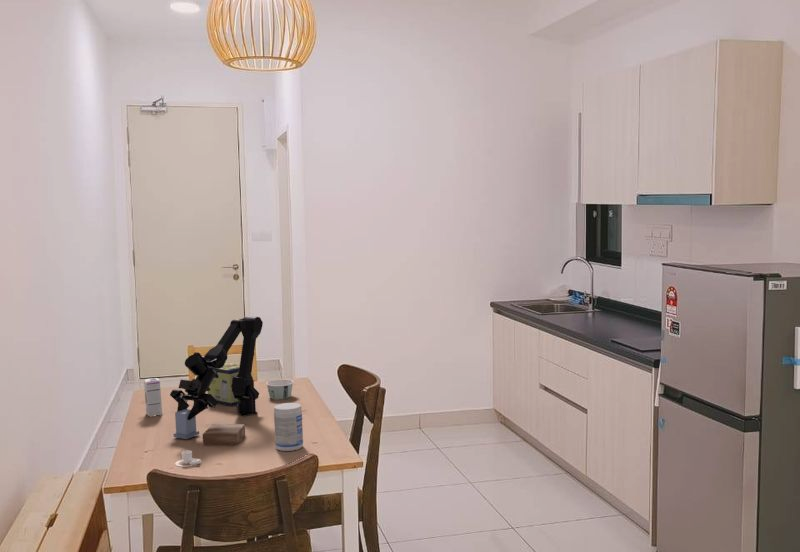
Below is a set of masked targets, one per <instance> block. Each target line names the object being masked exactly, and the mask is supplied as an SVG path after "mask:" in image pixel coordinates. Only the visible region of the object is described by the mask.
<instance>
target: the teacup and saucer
mask: <svg viewBox="0 0 800 552" xmlns="http://www.w3.org/2000/svg"><path fill="white" fill-rule="evenodd" d="M180 454H181V457H182V459H179V460H177V461H176V462H175V463H174V464H175V466H176V467H180V468H181V467H182V468H184V467H185V468H189V467H194V466H196V465H199V464H201V462H202V459H200V458H194V457H193V450H189V449H187V450H183V451H182V452H181V453H180ZM181 462H183V464H184V465H181V464H180V463H181Z"/></svg>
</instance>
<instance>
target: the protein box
mask: <svg viewBox="0 0 800 552" xmlns="http://www.w3.org/2000/svg"><path fill="white" fill-rule="evenodd" d="M239 367H240V364H237V363H236V364H235V363H231V362H230V363H229V362H227V361H226V362H225V364H224V366H223V367H222V368H219V369H218V368H212V369H213V370H214V371H217V373H218V376H219V378H213V380H212V382H211V384H210V386H209V388H210V391H206V393H207V394H211V395H212V396H213V397H214V398H215V399H216V400H217V405H222V406H227V407H233V406H237V403H238V399H237V398H236V399H235V398H234V395H233V392H232V387H231V385H232V379H233V377H236V376H237V375H238V373H239Z"/></svg>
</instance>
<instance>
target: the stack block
mask: <svg viewBox="0 0 800 552" xmlns="http://www.w3.org/2000/svg"><path fill="white" fill-rule="evenodd" d="M245 436H246V424H245V423H229V424H227V423H226V424H225V423H223V424H222V423H221V424H217V423H216V424H213V423H212V424H211V425H210V426H209V427H208V428H207V429H206V430H205V431H204V432H203V433H202V446H238V444H239V443H240V442H241V441H242V440H243V438H244V437H245Z"/></svg>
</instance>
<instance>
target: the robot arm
mask: <svg viewBox="0 0 800 552" xmlns="http://www.w3.org/2000/svg"><path fill="white" fill-rule="evenodd" d="M263 323H264V322H263V320H262V318H261V317H260V316H249V315H246V316H243V317H242V318H236V319H235V318H234V319H232V320H231V321H230V323H229V326H228V327H227V329H226V331H225V332H224V333H223V335H222V337H221V338H220V339H219V341H218V343H217V344H216V345H215V346H214V347H211V348H210V349H209V350H207V352H206V353H204V354H205V355H204V356H202V355H201V353H200V352H199V351H198V352H197V351H195V352H194V353H193V354H192V355H189V356H188V357H187V358H185V361H184V366H185V367H186V369H188V370H189V371H190V372H191V374H193V375H194V376H196V378H193V379H192V380H188V379H187V380H186V379H180V380H179V385H178V389H172V390H171V392H170V394H169V396H170V397H171V398H172V399H173V400H174V401H176V403H177V411H176V412H178V411H181V410H183V409H188V408H189V407H190V404H189V403H188V401H191V402H193V405H192V407H191V409H190V410H191V411H190V413H189V415H188V418H187V419H188V420H191V419H192V418H193V417H195V416H198V415H199V414H200V413H202V412H203V411H204V410H205V411H206V410H208V409H209V408H211V409H215V408H216V407H217V405H218V404H217V400H216V399H215V398H214V397H213V396H212V395H211V394H208V393H207V391H210V388H209V386H210V384H211V382H212V380H213V378H219V376H218V373H217V371H214V370H213V369H212V368H218V369H219V368H222V367H223V366H224V364H225V362H226V363H227V359H228V353H229V351H230V350H231V348H232V346H233V345H234V343H235V341H236V340H237V338H238V337H239V335H240V334H241V335H242V336H243V337H242V338H243V339H242V346H241V354H240V360H239V365H240V367H239V373H238V375H237V376H236V377H233V379H232V385H231V387H232V392H233V395H234V398H235V399H236V398H237V399H238V403H237V405H236V413H237V414H238V415H240V416H242V417H245V416H250V415H257V414H258V411H256V400H257V399H259V394H260V393H259V391H258V390H257V389H256V388H255V387H254V386H255V381H254V378H253V375H252V372H253V364H254V363H253V362H254V355H255V349H256V343H257V342H256V341H257V338H258V337H259V336H260V334H261V332H262V330H263V329H262V328H263V325H264V324H263ZM181 389H183V390H184V391H183V390H181Z"/></svg>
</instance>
